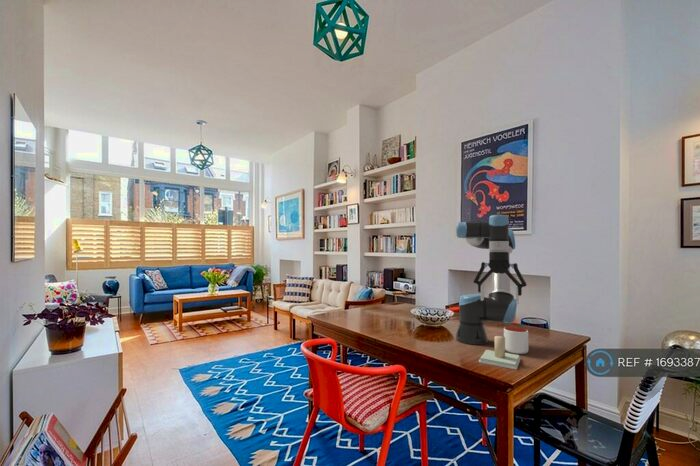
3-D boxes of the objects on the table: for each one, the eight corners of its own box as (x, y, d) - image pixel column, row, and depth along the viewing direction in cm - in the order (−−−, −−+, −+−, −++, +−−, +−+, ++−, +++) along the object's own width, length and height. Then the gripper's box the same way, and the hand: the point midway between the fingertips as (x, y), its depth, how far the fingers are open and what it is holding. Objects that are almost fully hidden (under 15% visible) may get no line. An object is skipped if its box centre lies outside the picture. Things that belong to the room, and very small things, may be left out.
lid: (480, 360, 134) (480, 338, 134) (486, 352, 145) (486, 331, 145) (515, 367, 127) (515, 343, 127) (519, 358, 138) (518, 336, 138)
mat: (478, 362, 134) (478, 360, 134) (485, 353, 146) (485, 351, 146) (516, 369, 126) (516, 368, 126) (520, 359, 138) (520, 358, 138)
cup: (499, 348, 153) (499, 326, 154) (519, 347, 154) (519, 326, 155) (511, 355, 143) (511, 332, 144) (533, 354, 144) (533, 332, 145)
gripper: (466, 250, 141) (466, 300, 141) (531, 252, 128) (532, 306, 127) (470, 250, 148) (470, 297, 147) (533, 251, 134) (534, 303, 133)
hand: (499, 301), depth 137 cm, fingers open, 13 cm apart
